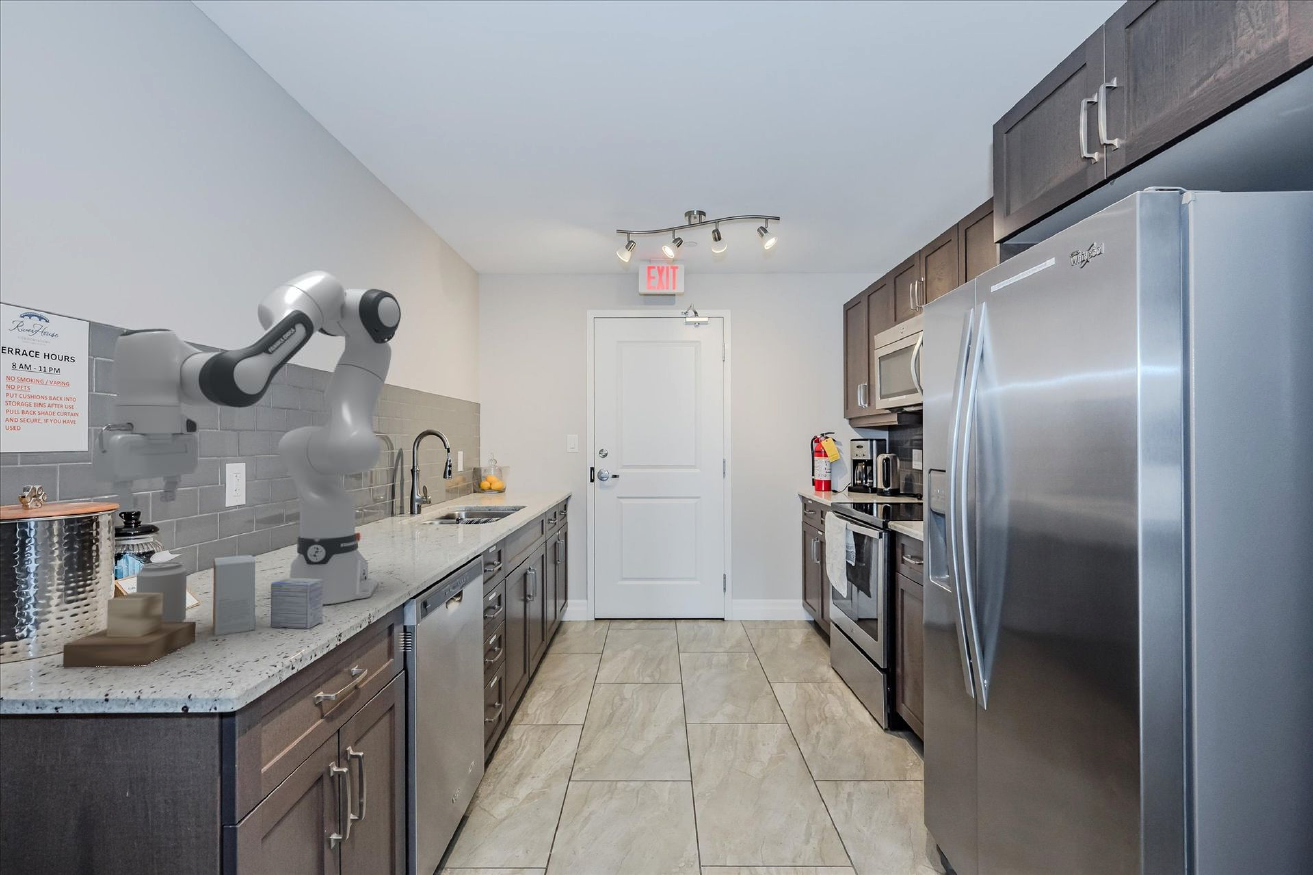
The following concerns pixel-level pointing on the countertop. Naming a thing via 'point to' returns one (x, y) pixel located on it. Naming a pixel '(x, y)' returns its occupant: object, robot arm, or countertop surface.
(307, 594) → the medicine box
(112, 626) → the maple block
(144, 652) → the walnut block
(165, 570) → the can
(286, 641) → the countertop surface
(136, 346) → the robot arm
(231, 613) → the small box
